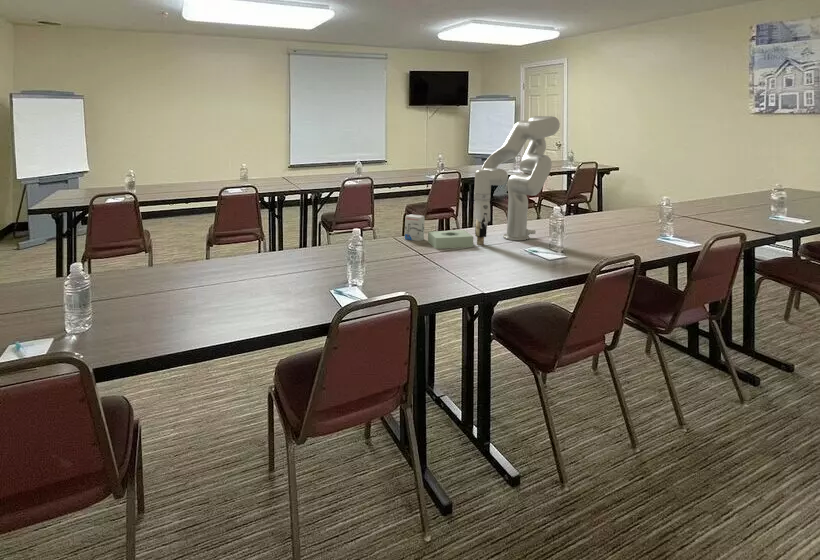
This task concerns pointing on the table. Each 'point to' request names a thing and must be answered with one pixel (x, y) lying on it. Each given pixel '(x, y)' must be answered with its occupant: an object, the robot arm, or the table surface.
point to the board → (450, 239)
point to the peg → (479, 239)
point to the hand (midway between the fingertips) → (480, 235)
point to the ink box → (414, 227)
